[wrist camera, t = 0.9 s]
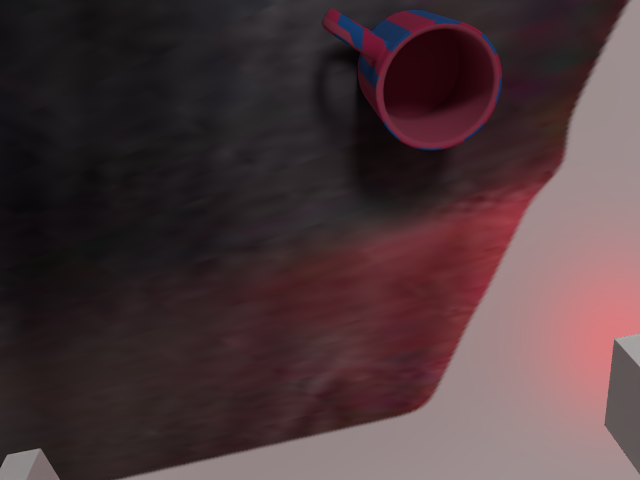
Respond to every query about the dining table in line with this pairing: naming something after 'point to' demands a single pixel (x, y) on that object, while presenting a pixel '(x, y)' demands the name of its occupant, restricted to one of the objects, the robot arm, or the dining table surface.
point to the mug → (424, 75)
